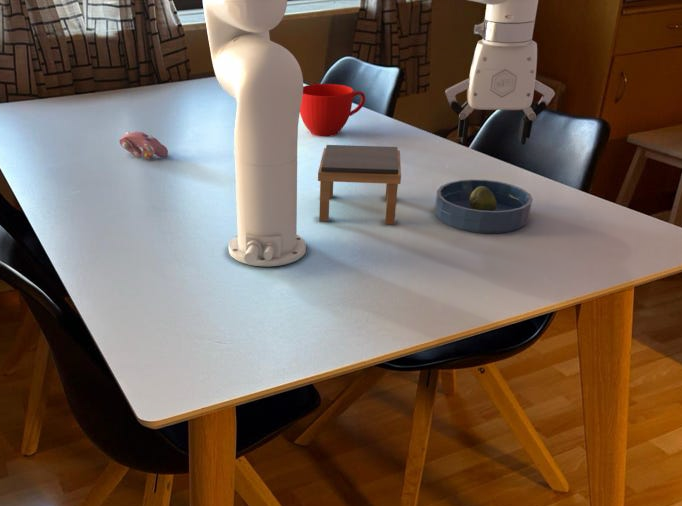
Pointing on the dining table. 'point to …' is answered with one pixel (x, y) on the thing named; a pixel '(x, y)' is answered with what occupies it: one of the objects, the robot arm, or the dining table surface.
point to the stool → (359, 172)
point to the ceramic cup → (327, 107)
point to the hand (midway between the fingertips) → (492, 141)
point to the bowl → (460, 215)
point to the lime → (482, 199)
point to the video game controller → (143, 145)
